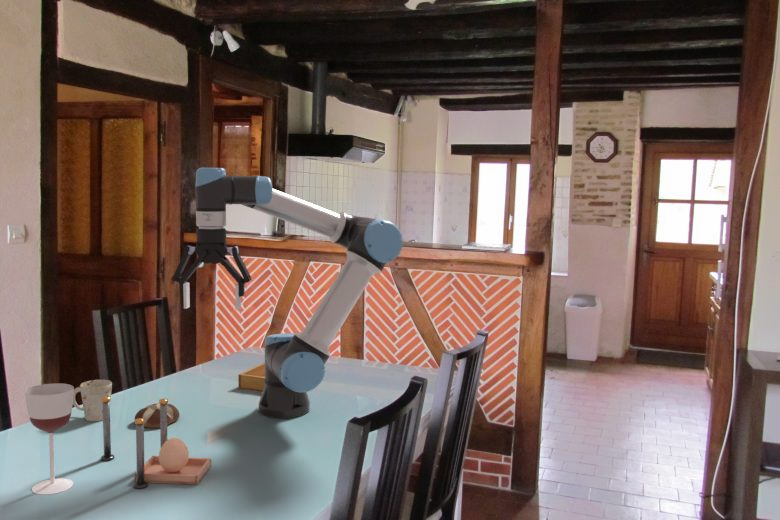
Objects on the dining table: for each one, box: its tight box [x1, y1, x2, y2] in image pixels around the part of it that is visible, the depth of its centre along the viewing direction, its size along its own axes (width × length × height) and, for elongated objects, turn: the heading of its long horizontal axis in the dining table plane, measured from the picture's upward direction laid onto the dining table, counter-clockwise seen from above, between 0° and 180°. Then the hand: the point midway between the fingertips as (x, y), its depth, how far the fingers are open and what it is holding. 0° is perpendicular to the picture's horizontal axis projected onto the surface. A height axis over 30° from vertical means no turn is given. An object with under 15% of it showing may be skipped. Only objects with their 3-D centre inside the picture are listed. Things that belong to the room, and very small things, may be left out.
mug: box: [73, 379, 113, 422], centre depth 198 cm, size 8×13×10 cm, turn 78°
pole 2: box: [133, 418, 149, 490], centre depth 154 cm, size 3×3×15 cm
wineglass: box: [24, 382, 75, 496], centre depth 153 cm, size 9×10×22 cm
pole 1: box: [100, 396, 115, 462], centre depth 169 cm, size 3×3×15 cm
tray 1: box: [134, 455, 212, 486], centre depth 161 cm, size 14×10×2 cm
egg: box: [158, 437, 190, 473], centre depth 161 cm, size 7×7×8 cm
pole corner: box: [158, 398, 169, 448], centre depth 168 cm, size 3×3×15 cm
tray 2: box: [238, 361, 265, 393], centre depth 240 cm, size 31×15×6 cm, turn 159°
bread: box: [134, 403, 180, 429], centre depth 196 cm, size 11×11×5 cm
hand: (212, 308), depth 183 cm, fingers open, 13 cm apart
